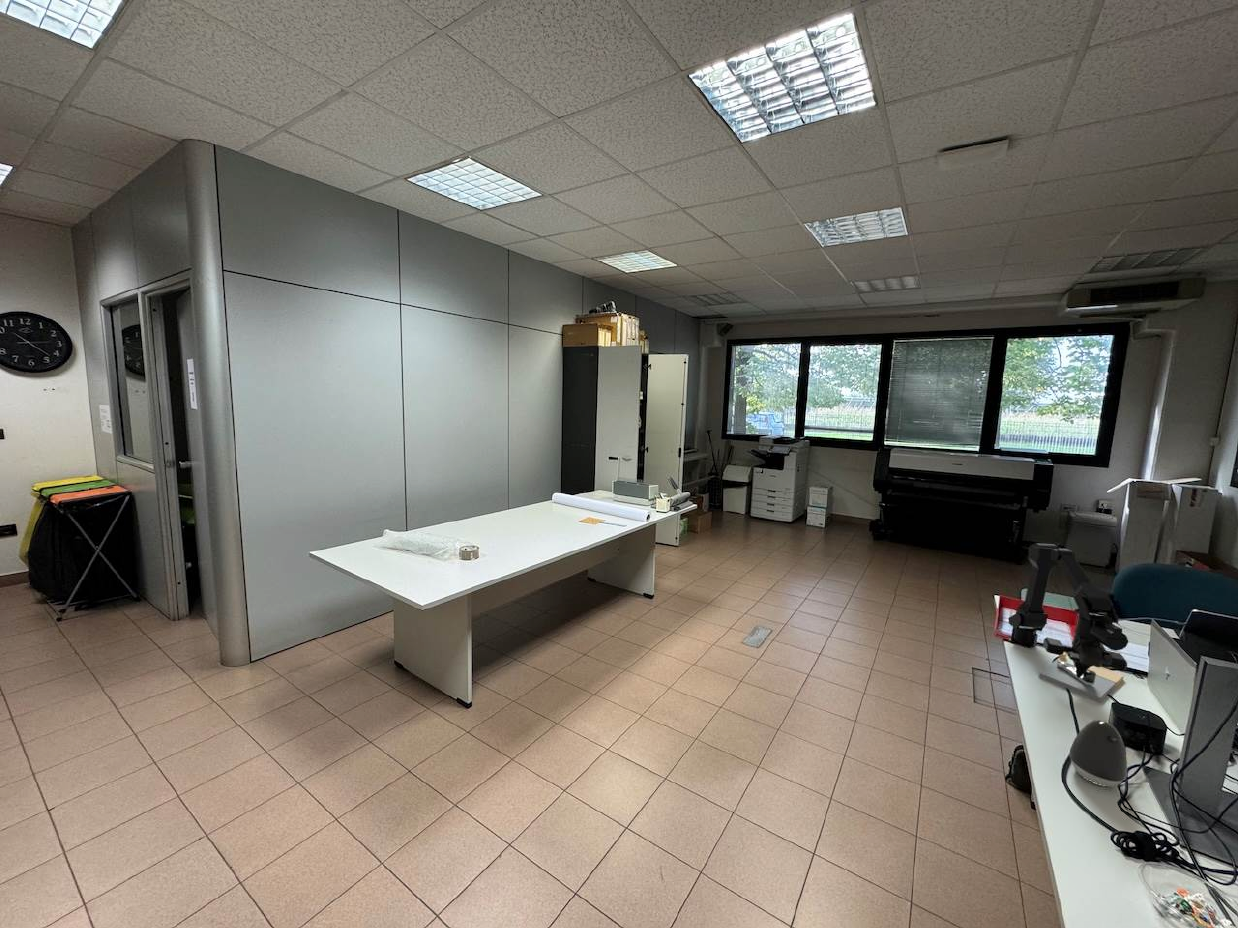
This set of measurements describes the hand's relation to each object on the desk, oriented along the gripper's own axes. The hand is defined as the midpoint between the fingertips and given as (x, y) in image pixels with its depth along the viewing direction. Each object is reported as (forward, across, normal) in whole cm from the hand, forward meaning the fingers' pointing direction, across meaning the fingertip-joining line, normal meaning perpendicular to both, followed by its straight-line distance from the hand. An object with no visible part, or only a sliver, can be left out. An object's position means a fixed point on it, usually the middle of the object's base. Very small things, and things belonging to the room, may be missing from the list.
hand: (1078, 677), depth 157 cm
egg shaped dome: (+4, -6, -45) cm, 46 cm away
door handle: (+2, 0, +5) cm, 5 cm away
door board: (+4, +3, +7) cm, 9 cm away
